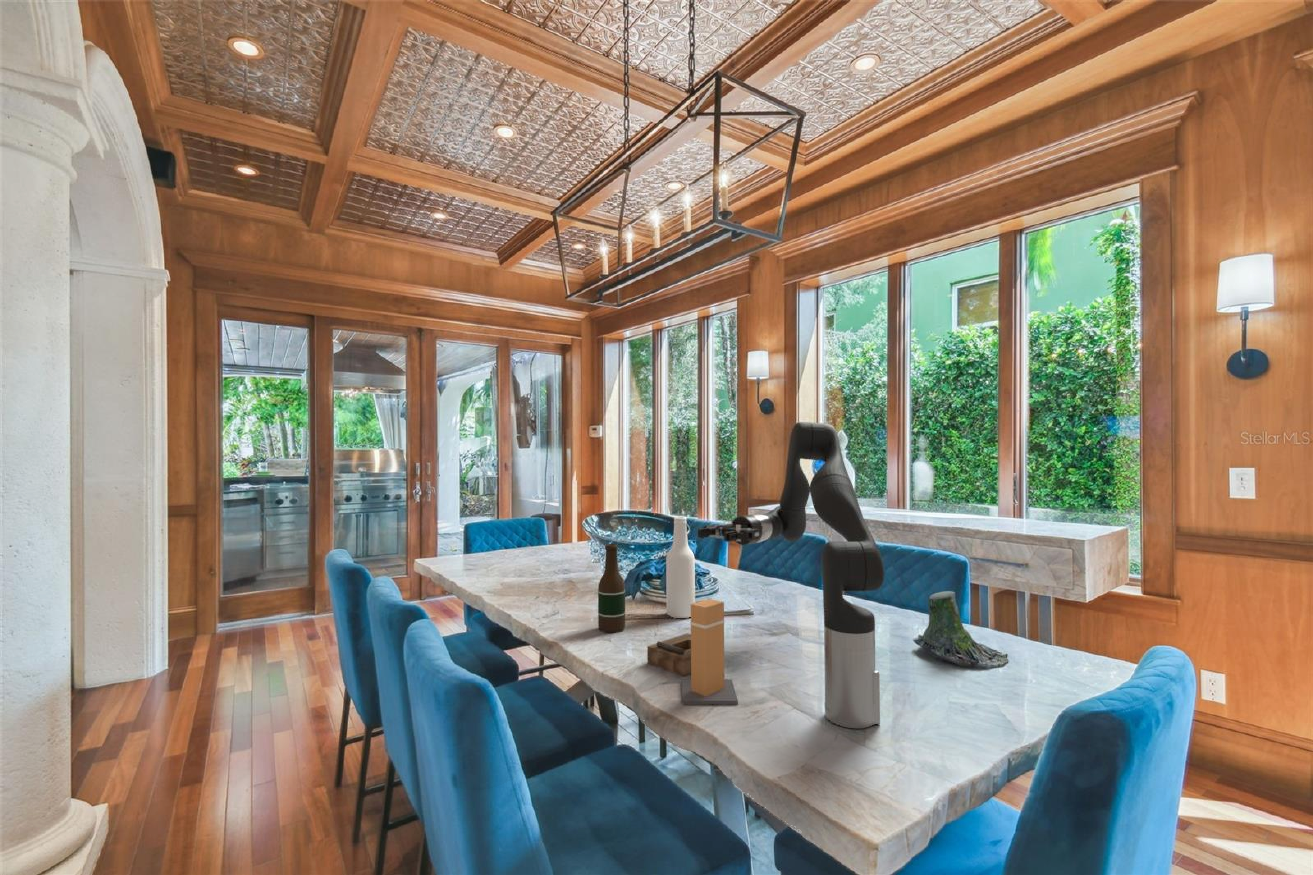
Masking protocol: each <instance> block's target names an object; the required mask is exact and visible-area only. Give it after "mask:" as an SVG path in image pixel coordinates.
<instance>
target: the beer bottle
mask: <svg viewBox="0 0 1313 875" xmlns="http://www.w3.org/2000/svg"><path fill="white" fill-rule="evenodd" d="M618 548H619V547H618V544H616V543H607V544H606V545H605V546H604V549H605V558H604V559H605V562H604V572H603V574H602V576H601V578H600V579H599V583H598V588H597V589H598V590H597V599H598V600H597V609H598V610H597V616H598V617H597V619H598V620H597V621H598V622H597V623H598V630H599V631H600V632H602V633H604V634H607V633H608V634H617V633H620V632H623V631H624V629H625V627H626V585H625V583H626V582H625V580H624V578H623V576H622V575H621V572H620V570H619V560H618Z"/></svg>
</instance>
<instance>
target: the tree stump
mask: <svg viewBox="0 0 1313 875" xmlns="http://www.w3.org/2000/svg"><path fill="white" fill-rule="evenodd" d="M912 641H913V642H914V644H916V645H917V646H919V647H920V648H921V649H923V650H924V651H925V652H927V653H929V654H930V655H931V656H932V657H933V658H934V659H935V660H939V661H942V662H945V663H948V664H951V665H954V664H955V665H954V666H958V667H962V668H969V669H982V670H983V669H987V670H988V668H989V669H993V668H994V669H995V668H996V669H997V668H1002V667H1004V666H1005V665H1006V664H1008V663H1009V659H1008V656H1009V655H1008V653H1005V654H1004V653H1002V652H1000V651H998V650H997V649H993V648H991V647H989V646H987V645H985V644H984V643H983V644H982V643H979V642H976V641H975V639H973V638H972V636H971V634H970V633H969V631H968V630H967V629H965V627H964V626H963V623H962V620H961V616H960V612H959V608H958V605H957V601H956V592H955V591H951V590H946V591H945V590H944V591H940V592H935V593H933V594H931V595H930V596H929V599H928V626H927V627H926V629H925V630H924V631H923V635H921V634H918V636H917V637H914V638H913V639H912Z"/></svg>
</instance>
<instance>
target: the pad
mask: <svg viewBox="0 0 1313 875" xmlns="http://www.w3.org/2000/svg"><path fill="white" fill-rule="evenodd" d="M680 683H681V685H680V686H681V697H682V705H683V706H684V705H685V706H689V705H690V706H693V705H695V706H700V705H701V706H704V705H705V706H707V705H708V706H713V705H712V704H714V705H715V706H716V705H717V704H719V705H720V706H725V705H726V706H728V705H729V706H731V705H732V706H736V705H737V704H738V705H739V700H738V697H737V693H736V689H735V687H734V683H733V679H731V678H730V679H729V678H727V679H726V678H725V688H724V689H721V690H719V691H717V692H715V693H713V694H711V695H708V696H703V695H701V694H698V693H695V692H693V691H691V678H690V679H685V678H684V679H680ZM722 704H724V705H722ZM719 705H717V706H719Z"/></svg>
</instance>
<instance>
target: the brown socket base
mask: <svg viewBox="0 0 1313 875" xmlns="http://www.w3.org/2000/svg"><path fill="white" fill-rule="evenodd" d="M646 649H647V654H646V656H647V659H646V660H647V663H648V664H649V665H652V666H655V667H658V668H660V669H662V670H665V671H668V672H671V673H674V674H677V675H680V676H683V677H686V676H689V675H691V633H684V634H683V633H682V634H681V635H677V636H675V637H671V638H669V639H665V640H662V641H660V640H658V641H657V642H656V643H653V644H650V645H647V646H646Z"/></svg>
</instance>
